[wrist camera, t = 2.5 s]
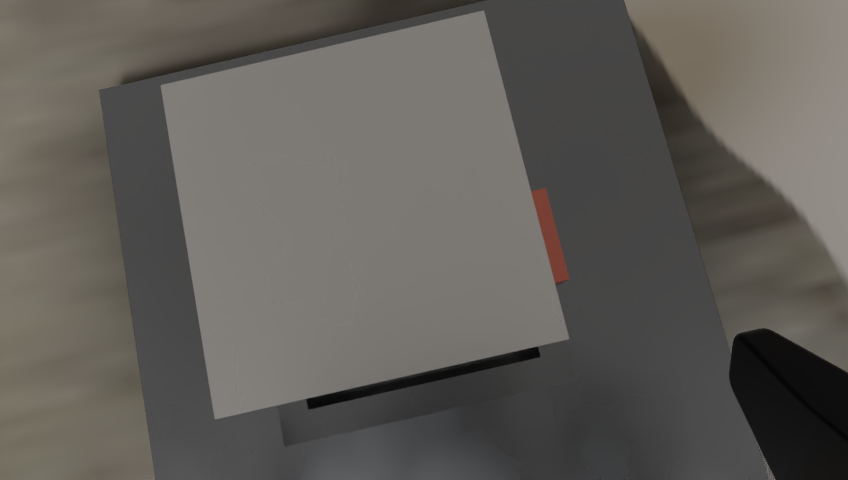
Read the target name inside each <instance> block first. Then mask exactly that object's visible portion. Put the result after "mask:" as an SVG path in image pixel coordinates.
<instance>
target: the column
mask: <svg viewBox="0 0 848 480" xmlns="http://www.w3.org/2000/svg"><path fill="white" fill-rule="evenodd" d="M161 91H162V97H163V104H164V110H165V116H166V122H167V128H168V134H169V141H170V147H171V153H172V159H173V165H174V171H175V178H176V184H177V190H178V196H179V202H180V208H181V215H182V221H183V227H184V233H185V239H186V245H187V252H188V258H189V264H190V270H191V276H192V282H193V289H194V295H195V301H196V307H197V313H198V319H199V326H200V332H201V338H202V344H203V350H204V356H205V362H206V369H207V375H208V381H209V387H210V393H211V399H212V406H213V412H214V418H215V419H219V418H224V417H228V416H233V415H237V414H242V413H246V412H250V411H255V410H259V409H264V408H268V407H272V406H277V405H281V404H286V403H290V402H294V401H299V400H303V399H308V398H312V397H316V396H321V395H325V394H330V393H334V392H338V391H343V390H347V389H352V388H356V387H360V386H365V385H369V384H374V383H378V382H383V381H387V380H391V379H396V378H400V377H405V376H409V375H413V374H418V373H422V372H427V371H431V370H435V369H440V368H444V367H449V366H453V365H457V364H462V363H466V362H471V361H475V360H479V359H484V358H488V357H493V356H497V355H501V354H506V353H510V352H515V351H519V350H524V349H528V348H532V347H537V346H541V345H546V344H550V343H554V342H559V341H563V340H568V339H569V335H568V332H567V328H566V324H565V320H564V316H563V312H562V309H561V305H560V301H559V297H558V293H557V289H556V285H555V282H554V278H553V274H552V270H551V266H550V262H549V258H548V255H547V251H546V247H545V243H544V239H543V235H542V232H541V228H540V224H539V220H538V216H537V212H536V208H535V205H534V201H533V197H532V193H531V189H530V185H529V182H528V178H527V174H526V170H525V166H524V162H523V158H522V155H521V151H520V147H519V143H518V139H517V135H516V131H515V128H514V124H513V120H512V116H511V112H510V108H509V105H508V101H507V97H506V93H505V89H504V85H503V81H502V78H501V74H500V70H499V66H498V62H497V58H496V55H495V51H494V47H493V43H492V39H491V35H490V31H489V28H488V24H487V20H486V16H485V12H484V10H483V11H479V12H475V13H470V14H466V15H462V16H457V17H453V18H449V19H444V20H440V21H436V22H431V23H427V24H423V25H418V26H414V27H410V28H406V29H401V30H397V31H393V32H388V33H384V34H380V35H375V36H371V37H367V38H362V39H358V40H354V41H349V42H345V43H341V44H336V45H332V46H328V47H323V48H319V49H315V50H310V51H306V52H302V53H298V54H293V55H289V56H285V57H280V58H276V59H272V60H267V61H263V62H259V63H254V64H250V65H246V66H241V67H237V68H233V69H228V70H224V71H220V72H215V73H211V74H207V75H202V76H198V77H194V78H190V79H185V80H181V81H177V82H172V83H168V84H164V85H161Z"/></svg>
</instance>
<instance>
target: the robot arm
mask: <svg viewBox="0 0 848 480" xmlns="http://www.w3.org/2000/svg"><path fill="white" fill-rule="evenodd" d="M729 380H730V385H731V388H732V390H733V393H734V395H735V397H736V399H737V401H738V403H739V405H740V407H741V409H742V411H743V413H744V415H745V417H746V419H747V422H748V424H749V426H750V428H751V430H752V432H753V434H754V436H755V438H756V440H757V442H758V444H759V446H760V449H761V451H762V453H763V455H764V457H765V459H766V461H767V463H768V465H769V467H770V469H771V471H772V473H773V475H774V477H775V479H776V480H848V372H846V371H844V370H842V369H840V368H839V367H837V366H835V365H833V364H831V363H830V362H828V361H826V360H824V359H822V358H821V357H819V356H817V355H815V354H813V353H812V352H810V351H808V350H806V349H804V348H803V347H801V346H799V345H797V344H795V343H794V342H792V341H790V340H788V339H786V338H785V337H783V336H781V335H779V334H777V333H776V332H774V331H772V330H769V329H764V328H763V329H756V330H752V331H748V332H743V333H740V334H737V335H736V337H735V338H734V341H733V346H732V354H731V361H730V368H729Z"/></svg>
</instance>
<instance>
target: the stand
mask: <svg viewBox="0 0 848 480" xmlns="http://www.w3.org/2000/svg"><path fill="white" fill-rule="evenodd" d="M483 10H484V12H485V16H486V20H487V24H488V28H489V31H490V35H491V39H492V43H493V47H494V51H495V55H496V58H497V62H498V66H499V70H500V74H501V78H502V81H503V85H504V89H505V93H506V97H507V101H508V105H509V108H510V112H511V116H512V120H513V124H514V128H515V131H516V135H517V139H518V143H519V147H520V151H521V155H522V158H523V162H524V166H525V170H526V174H527V178H528V182H529V185H530V189H531V193H532V197H533V201H534V205H535V208H536V212H537V216H538V220H539V224H540V228H541V232H542V235H543V239H544V243H545V247H546V251H547V255H548V258H549V262H550V266H551V270H552V274H553V278H554V282H555V285H556V289H557V293H558V297H559V301H560V305H561V309H562V312H563V316H564V320H565V324H566V328H567V332H568V335H569V339H568V340H563V341H559V342H554V343H550V344H546V345H541V346H537V347H532V348H528V349H524V350H519V351H515V352H510V353H506V354H501V355H497V356H493V357H488V358H484V359H479V360H475V361H471V362H466V363H462V364H457V365H453V366H449V367H444V368H440V369H435V370H431V371H427V372H422V373H418V374H413V375H409V376H405V377H400V378H396V379H391V380H387V381H383V382H378V383H374V384H369V385H365V386H360V387H356V388H352V389H347V390H343V391H338V392H334V393H330V394H325V395H321V396H316V397H312V398H308V399H303V400H299V401H294V402H290V403H286V404H281V405H277V406H272V407H268V408H264V409H259V410H255V411H250V412H246V413H242V414H237V415H233V416H228V417H224V418H219V419H215V418H214V412H213V406H212V399H211V393H210V387H209V381H208V375H207V369H206V362H205V356H204V350H203V344H202V338H201V332H200V326H199V319H198V313H197V307H196V301H195V295H194V289H193V282H192V276H191V270H190V264H189V258H188V252H187V245H186V239H185V233H184V227H183V221H182V215H181V208H180V202H179V196H178V190H177V184H176V178H175V171H174V165H173V159H172V153H171V147H170V141H169V134H168V128H167V122H166V116H165V110H164V104H163V97H162V91H161V85H164V84H168V83H172V82H177V81H181V80H185V79H190V78H194V77H198V76H202V75H207V74H211V73H215V72H220V71H224V70H228V69H233V68H237V67H241V66H246V65H250V64H254V63H259V62H263V61H267V60H272V59H276V58H280V57H285V56H289V55H293V54H298V53H302V52H306V51H310V50H315V49H319V48H323V47H328V46H332V45H336V44H341V43H345V42H349V41H354V40H358V39H362V38H367V37H371V36H375V35H380V34H384V33H388V32H393V31H397V30H401V29H406V28H410V27H414V26H418V25H423V24H427V23H431V22H436V21H440V20H444V19H449V18H453V17H457V16H462V15H466V14H470V13H475V12H479V11H483ZM99 92H100V99H101V106H102V113H103V120H104V127H105V134H106V141H107V148H108V155H109V161H110V168H111V175H112V182H113V189H114V196H115V203H116V210H117V217H118V224H119V231H120V238H121V244H122V251H123V258H124V265H125V272H126V279H127V286H128V293H129V300H130V307H131V314H132V321H133V328H134V334H135V341H136V348H137V355H138V362H139V369H140V376H141V383H142V390H143V397H144V404H145V411H146V417H147V424H148V431H149V438H150V445H151V452H152V459H153V466H154V473H155V480H768V477H767V474H766V470H765V467H764V464H763V460H762V457H761V454H760V450H759V447H758V444H757V440H756V438H755V436H754V434H753V432H752V430H751V428H750V426H749V424H748V422H747V419H746V417H745V415H744V413H743V411H742V409H741V407H740V405H739V403H738V401H737V399H736V397H735V395H734V393H733V390H732V388H731V385H730V380H729V368H730V361H731V354H730V351H729V348H728V344H727V341H726V338H725V334H724V331H723V328H722V324H721V321H720V318H719V314H718V311H717V308H716V304H715V301H714V298H713V294H712V291H711V288H710V284H709V281H708V278H707V275H706V271H705V268H704V265H703V261H702V258H701V255H700V251H699V248H698V245H697V241H696V238H695V235H694V231H693V228H692V225H691V221H690V218H689V215H688V211H687V208H686V205H685V202H684V198H683V195H682V192H681V188H680V185H679V182H678V178H677V175H676V172H675V168H674V165H673V162H672V158H671V155H670V152H669V148H668V145H667V142H666V138H665V135H664V132H663V129H662V125H661V122H660V119H659V115H658V112H657V109H656V105H655V102H654V99H653V95H652V92H651V89H650V85H649V82H648V79H647V75H646V72H645V69H644V65H643V62H642V59H641V56H640V52H639V49H638V46H637V42H636V39H635V36H634V32H633V29H632V26H631V22H630V19H629V16H628V12H627V9H626V6H625V3H624V0H486V1H481V2H477V3H473V4H468V5H464V6H460V7H455V8H451V9H447V10H443V11H438V12H434V13H430V14H425V15H421V16H417V17H412V18H408V19H404V20H399V21H395V22H391V23H386V24H382V25H378V26H373V27H369V28H365V29H360V30H356V31H352V32H348V33H343V34H339V35H335V36H330V37H326V38H322V39H317V40H313V41H309V42H304V43H300V44H296V45H291V46H287V47H283V48H278V49H274V50H270V51H265V52H261V53H257V54H253V55H248V56H244V57H240V58H235V59H231V60H227V61H222V62H218V63H214V64H209V65H205V66H201V67H196V68H192V69H188V70H183V71H179V72H175V73H170V74H166V75H162V76H158V77H153V78H149V79H145V80H140V81H136V82H132V83H127V84H123V85H119V86H114V87H110V88H106V89H101V90H99Z"/></svg>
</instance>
